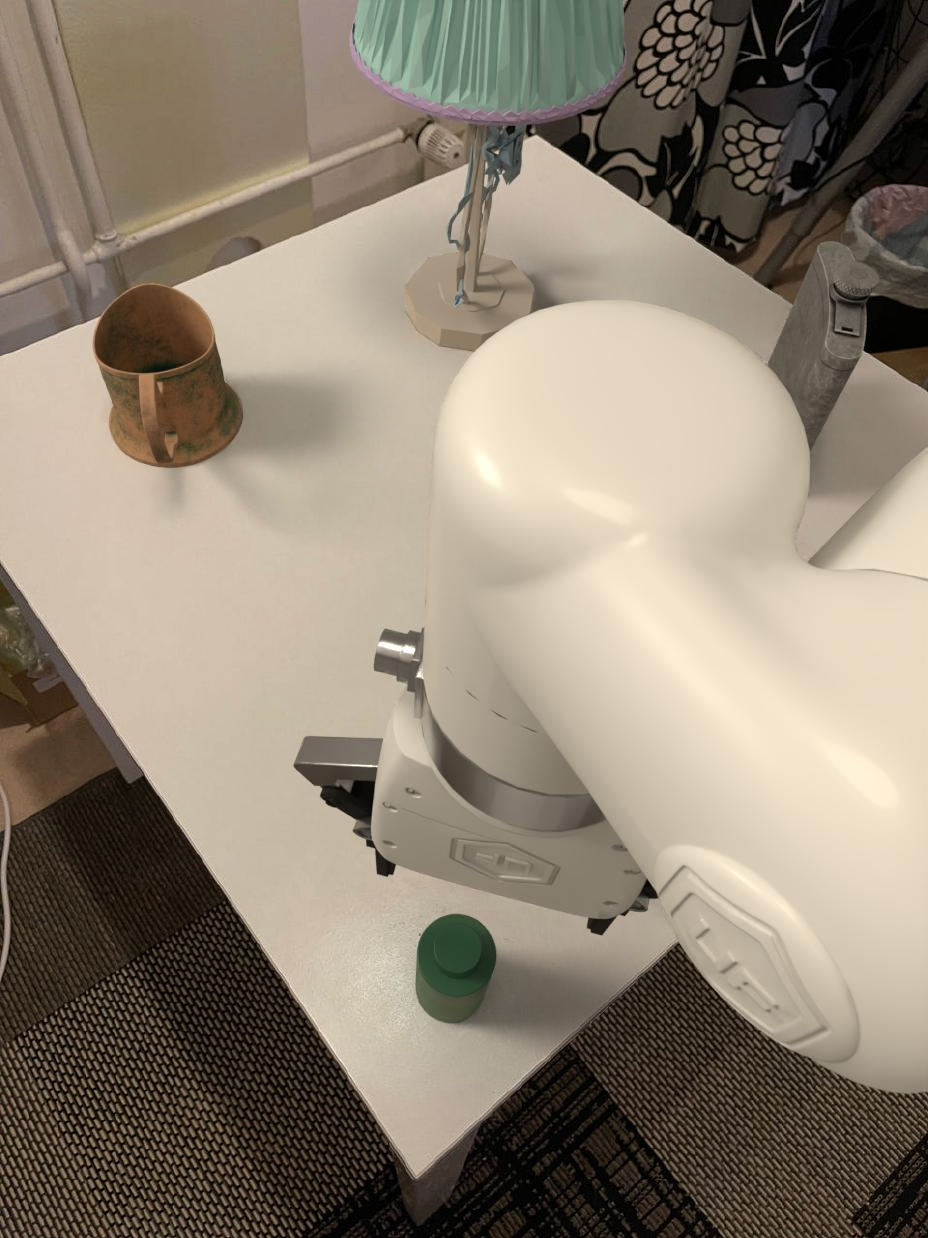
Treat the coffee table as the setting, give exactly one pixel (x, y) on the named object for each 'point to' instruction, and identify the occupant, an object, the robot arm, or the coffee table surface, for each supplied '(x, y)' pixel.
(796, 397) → the flask
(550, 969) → the coffee table surface
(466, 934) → the bottle
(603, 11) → the table lamp
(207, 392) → the mug
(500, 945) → the coffee table surface
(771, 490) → the robot arm
